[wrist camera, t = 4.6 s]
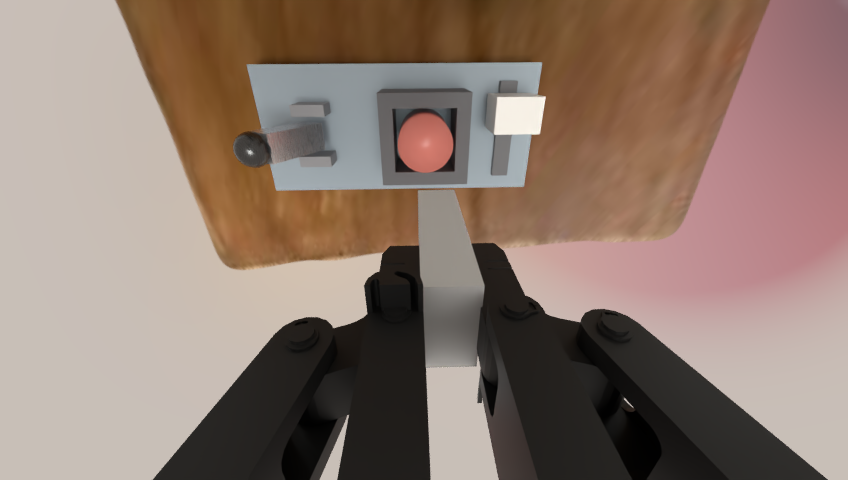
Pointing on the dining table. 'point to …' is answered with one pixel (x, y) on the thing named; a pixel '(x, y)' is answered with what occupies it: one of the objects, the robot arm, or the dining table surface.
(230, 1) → the dining table surface
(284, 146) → the lever
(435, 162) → the button
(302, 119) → the panel
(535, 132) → the slider
